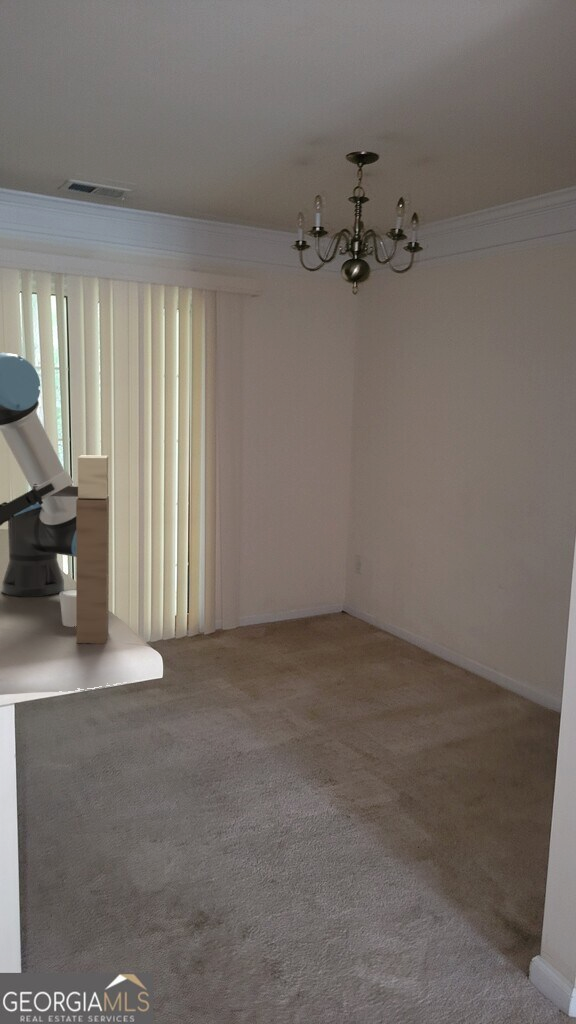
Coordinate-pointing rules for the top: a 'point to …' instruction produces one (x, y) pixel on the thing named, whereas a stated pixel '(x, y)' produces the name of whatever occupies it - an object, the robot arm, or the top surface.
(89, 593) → the brown wooden tall block
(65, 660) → the top surface
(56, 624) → the top surface
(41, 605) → the top surface
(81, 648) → the top surface
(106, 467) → the beige wooden block
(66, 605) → the white cup
